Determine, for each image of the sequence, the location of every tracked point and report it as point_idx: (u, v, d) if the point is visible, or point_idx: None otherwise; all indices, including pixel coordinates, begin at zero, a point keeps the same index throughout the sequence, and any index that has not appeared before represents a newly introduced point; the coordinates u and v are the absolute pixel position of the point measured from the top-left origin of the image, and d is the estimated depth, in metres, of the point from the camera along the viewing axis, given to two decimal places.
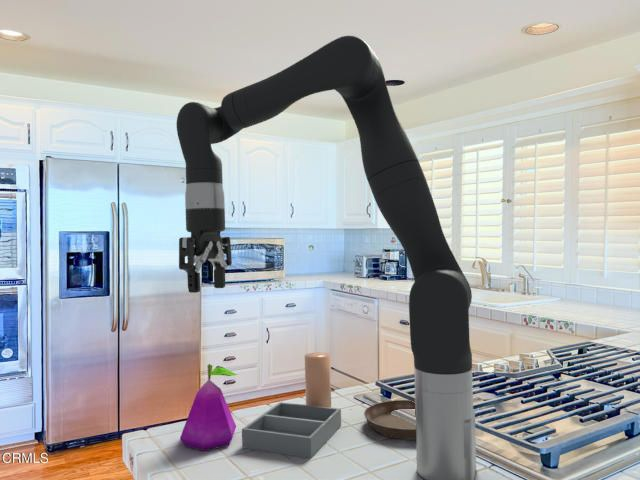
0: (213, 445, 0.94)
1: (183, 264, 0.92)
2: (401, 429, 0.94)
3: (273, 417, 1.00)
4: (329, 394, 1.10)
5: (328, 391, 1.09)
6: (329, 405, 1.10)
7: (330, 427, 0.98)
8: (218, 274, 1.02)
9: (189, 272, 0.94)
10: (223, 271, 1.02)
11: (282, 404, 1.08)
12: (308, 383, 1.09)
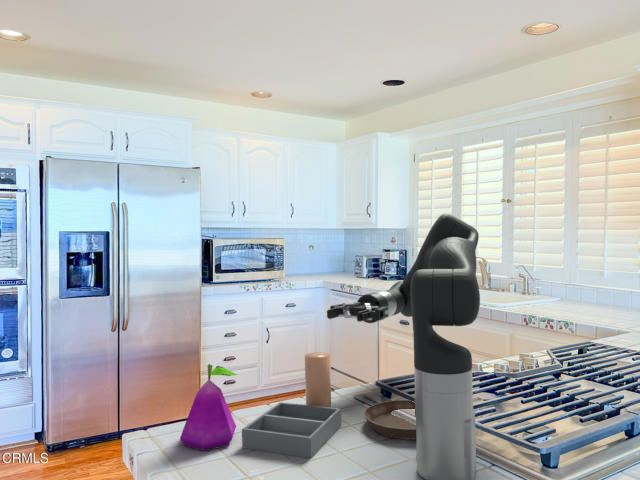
0: (213, 445, 0.94)
1: None
2: (401, 429, 0.94)
3: (273, 417, 1.00)
4: (329, 394, 1.10)
5: (328, 391, 1.09)
6: (329, 405, 1.10)
7: (330, 427, 0.98)
8: None
9: None
10: (365, 310, 1.20)
11: (282, 404, 1.08)
12: (308, 383, 1.09)
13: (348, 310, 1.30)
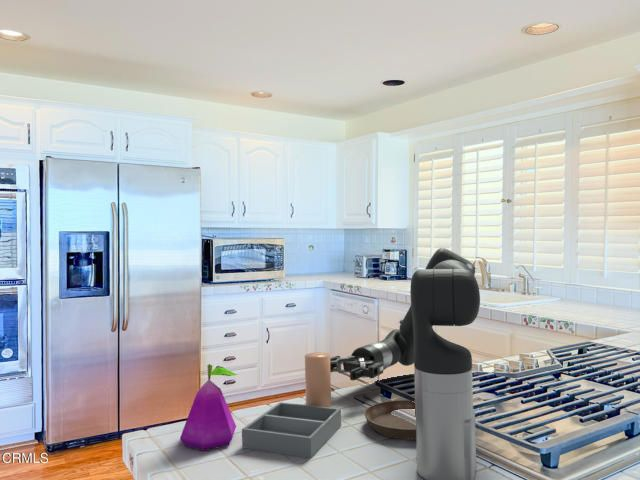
0: (213, 445, 0.94)
1: None
2: (401, 429, 0.94)
3: (273, 417, 1.00)
4: (329, 394, 1.10)
5: (328, 391, 1.09)
6: (329, 405, 1.10)
7: (330, 427, 0.98)
8: None
9: None
10: (358, 367, 1.17)
11: (282, 404, 1.08)
12: (308, 383, 1.09)
13: (342, 363, 1.27)
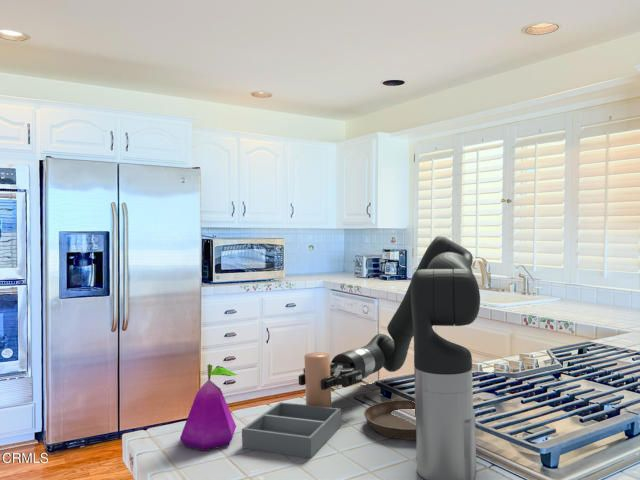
0: (213, 445, 0.94)
1: None
2: (401, 429, 0.94)
3: (273, 417, 1.00)
4: (329, 394, 1.10)
5: (328, 391, 1.09)
6: (329, 405, 1.10)
7: (330, 427, 0.98)
8: None
9: None
10: (331, 376, 1.10)
11: (282, 404, 1.08)
12: (308, 383, 1.09)
13: None
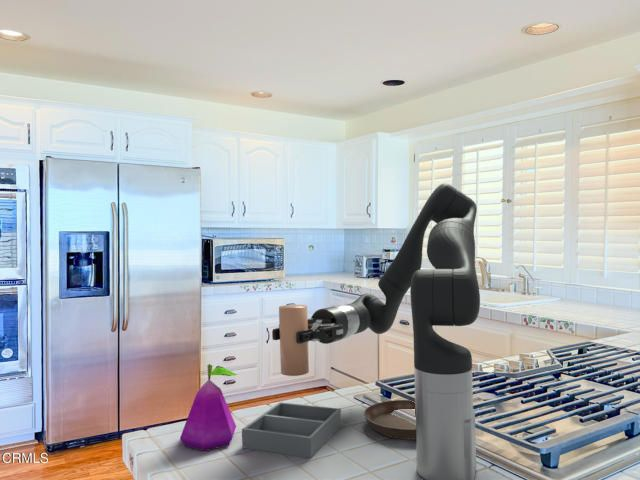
0: (213, 445, 0.94)
1: None
2: (401, 429, 0.94)
3: (273, 417, 1.00)
4: (306, 349, 0.99)
5: (305, 346, 0.98)
6: (306, 361, 0.98)
7: (330, 427, 0.98)
8: None
9: None
10: (308, 329, 0.99)
11: (282, 404, 1.08)
12: (282, 337, 0.98)
13: None
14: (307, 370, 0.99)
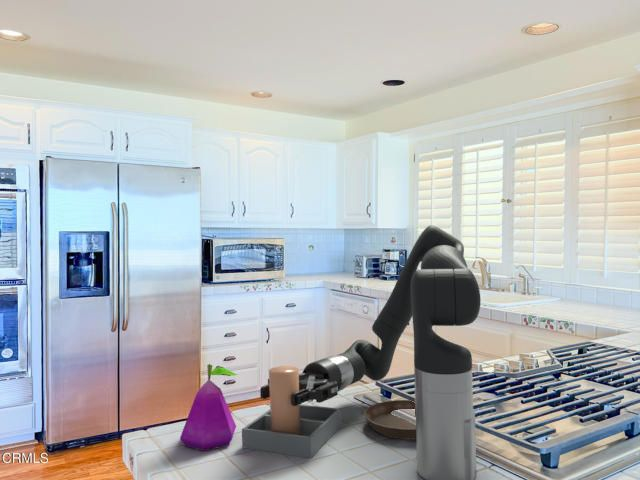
0: (213, 445, 0.94)
1: None
2: (401, 429, 0.94)
3: None
4: (297, 415, 0.94)
5: (296, 412, 0.94)
6: (297, 428, 0.94)
7: (330, 427, 0.98)
8: None
9: None
10: (303, 389, 0.94)
11: None
12: (272, 403, 0.94)
13: None
14: None
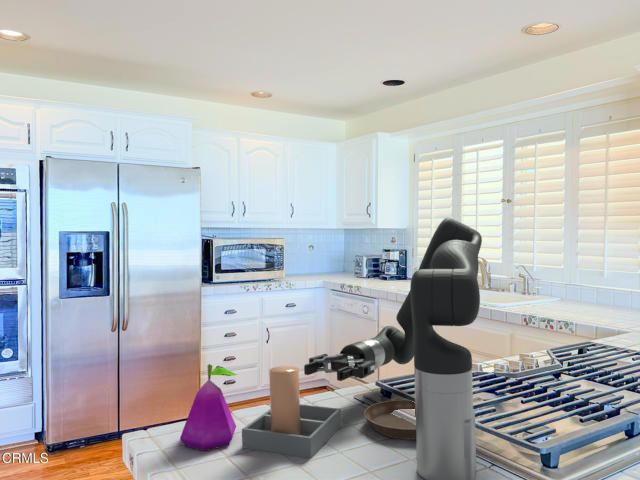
0: (213, 445, 0.94)
1: None
2: (401, 429, 0.94)
3: None
4: (297, 415, 0.94)
5: (296, 412, 0.94)
6: (297, 428, 0.94)
7: (330, 427, 0.98)
8: None
9: None
10: (347, 367, 1.05)
11: None
12: (272, 403, 0.94)
13: (330, 362, 1.15)
14: None
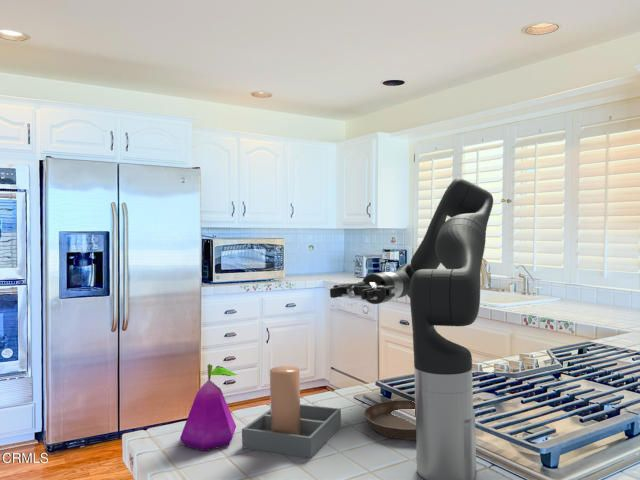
0: (213, 445, 0.94)
1: None
2: (401, 429, 0.94)
3: None
4: (297, 416, 0.94)
5: (296, 412, 0.94)
6: (297, 428, 0.94)
7: (330, 427, 0.98)
8: None
9: None
10: (370, 288, 1.14)
11: None
12: (272, 403, 0.94)
13: (352, 290, 1.24)
14: None
